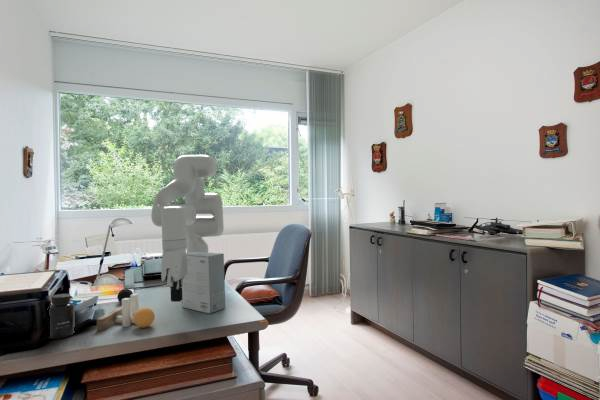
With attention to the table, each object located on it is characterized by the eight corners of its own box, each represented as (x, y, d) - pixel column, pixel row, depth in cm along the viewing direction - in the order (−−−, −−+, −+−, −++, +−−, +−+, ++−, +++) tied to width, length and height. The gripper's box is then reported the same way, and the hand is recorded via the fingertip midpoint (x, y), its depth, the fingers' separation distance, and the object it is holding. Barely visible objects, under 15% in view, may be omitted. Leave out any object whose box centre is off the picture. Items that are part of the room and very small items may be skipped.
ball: (143, 301, 116) (159, 307, 120) (130, 311, 118) (146, 317, 122) (141, 317, 112) (158, 323, 116) (128, 327, 113) (145, 333, 117)
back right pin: (133, 319, 125) (132, 293, 125) (140, 319, 125) (139, 293, 124) (129, 321, 122) (128, 295, 122) (136, 321, 122) (135, 295, 122)
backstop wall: (122, 315, 129) (122, 305, 129) (128, 315, 128) (127, 305, 128) (96, 330, 115) (96, 319, 115) (103, 330, 114) (102, 319, 114)
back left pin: (125, 324, 120) (124, 298, 120) (132, 324, 120) (131, 298, 119) (120, 326, 117) (120, 300, 117) (128, 326, 117) (127, 300, 117)
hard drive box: (226, 308, 134) (224, 253, 134) (210, 314, 128) (208, 256, 127) (197, 302, 143) (196, 250, 143) (181, 307, 137) (179, 253, 136)
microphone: (121, 300, 159) (120, 307, 141) (116, 288, 159) (115, 293, 141) (134, 295, 162) (135, 300, 144) (129, 282, 161) (130, 286, 143)
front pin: (144, 322, 122) (119, 321, 123) (144, 314, 122) (119, 314, 123) (140, 324, 119) (115, 324, 120) (140, 317, 120) (115, 316, 120)
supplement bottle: (61, 340, 107) (60, 299, 107) (42, 339, 109) (40, 298, 109) (80, 331, 114) (79, 292, 114) (61, 330, 115) (60, 292, 115)
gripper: (173, 240, 127) (175, 293, 128) (152, 248, 112) (154, 308, 113) (194, 240, 127) (196, 293, 127) (176, 248, 112) (178, 308, 113)
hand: (176, 300), depth 120 cm, fingers closed
